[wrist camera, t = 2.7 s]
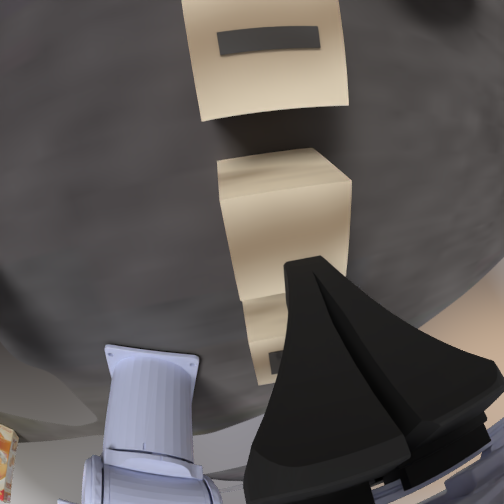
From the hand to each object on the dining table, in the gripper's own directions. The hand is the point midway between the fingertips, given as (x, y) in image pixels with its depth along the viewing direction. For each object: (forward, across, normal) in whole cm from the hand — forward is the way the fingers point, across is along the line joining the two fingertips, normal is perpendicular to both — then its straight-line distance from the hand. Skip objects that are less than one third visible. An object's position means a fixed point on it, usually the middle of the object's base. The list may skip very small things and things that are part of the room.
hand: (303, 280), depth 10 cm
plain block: (+7, 0, 0) cm, 7 cm away
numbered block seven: (+7, 0, +8) cm, 11 cm away
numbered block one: (+7, 0, -8) cm, 11 cm away
